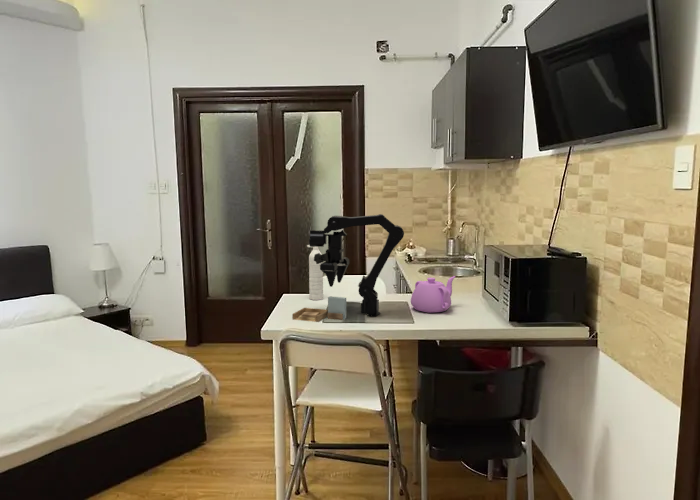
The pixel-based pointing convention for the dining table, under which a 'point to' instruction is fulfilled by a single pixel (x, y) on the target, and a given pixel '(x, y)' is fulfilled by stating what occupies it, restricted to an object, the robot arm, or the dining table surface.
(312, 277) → the water bottle
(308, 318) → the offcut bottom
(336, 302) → the grey rectangular slab
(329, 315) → the holder
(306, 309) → the tray
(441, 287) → the teapot
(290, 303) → the dining table surface
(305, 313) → the offcut top
